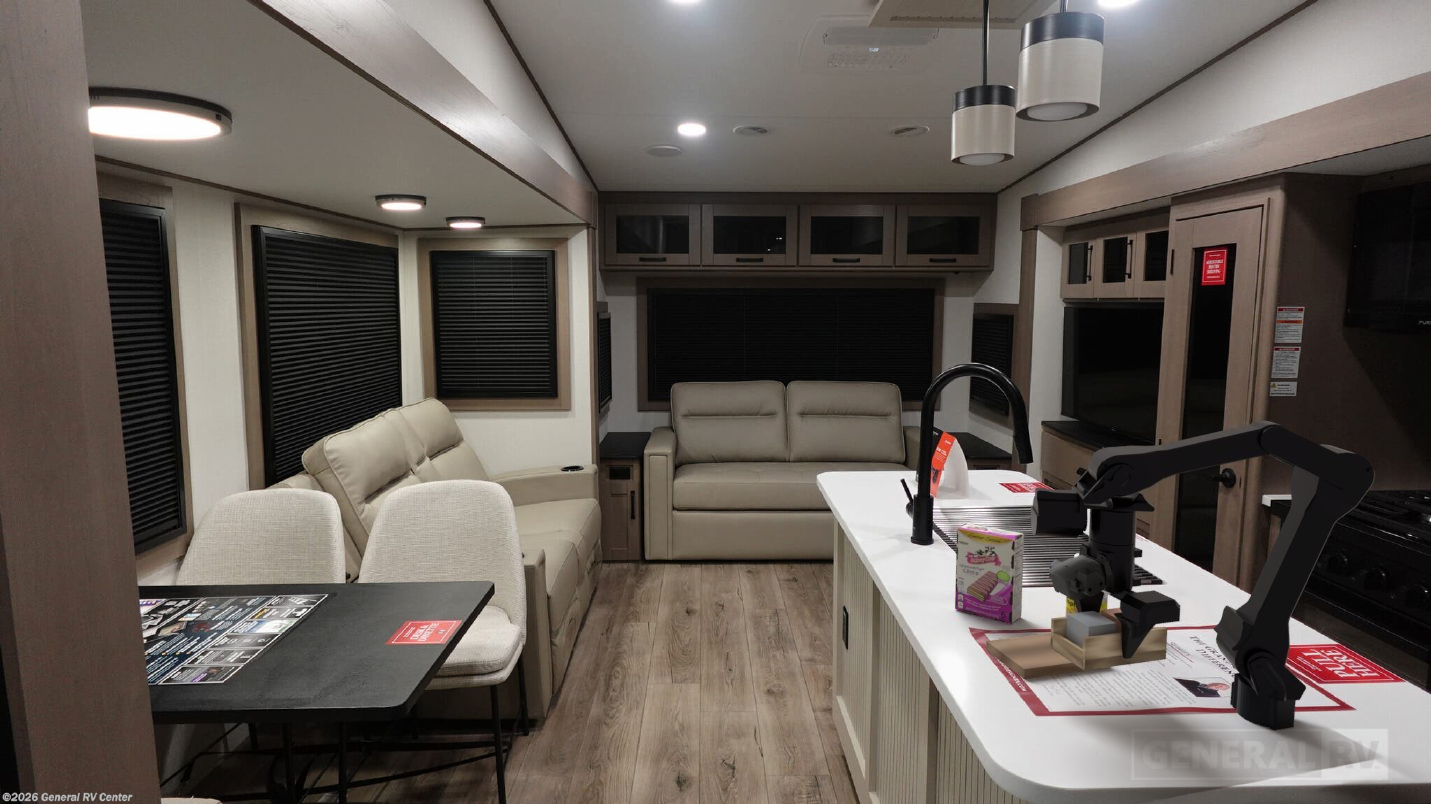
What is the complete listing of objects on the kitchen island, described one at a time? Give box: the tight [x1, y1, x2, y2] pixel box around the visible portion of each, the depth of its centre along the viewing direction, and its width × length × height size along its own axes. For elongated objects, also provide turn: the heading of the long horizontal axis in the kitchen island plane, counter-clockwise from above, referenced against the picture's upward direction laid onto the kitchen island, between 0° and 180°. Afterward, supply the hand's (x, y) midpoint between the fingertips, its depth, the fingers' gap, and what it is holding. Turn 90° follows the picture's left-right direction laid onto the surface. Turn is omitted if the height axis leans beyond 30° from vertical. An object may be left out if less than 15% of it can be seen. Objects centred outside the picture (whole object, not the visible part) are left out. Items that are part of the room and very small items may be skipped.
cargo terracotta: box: [1101, 607, 1121, 633], centre depth 104 cm, size 4×4×4 cm
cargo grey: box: [1066, 611, 1116, 649], centre depth 103 cm, size 4×4×4 cm
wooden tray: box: [1050, 612, 1168, 672], centre depth 103 cm, size 13×7×4 cm, turn 102°
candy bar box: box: [954, 522, 1025, 625], centre depth 137 cm, size 11×5×16 cm, turn 47°
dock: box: [985, 632, 1085, 680], centre depth 117 cm, size 10×15×3 cm, turn 102°
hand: (1107, 646), depth 103 cm, fingers closed on wooden tray, 7 cm apart
